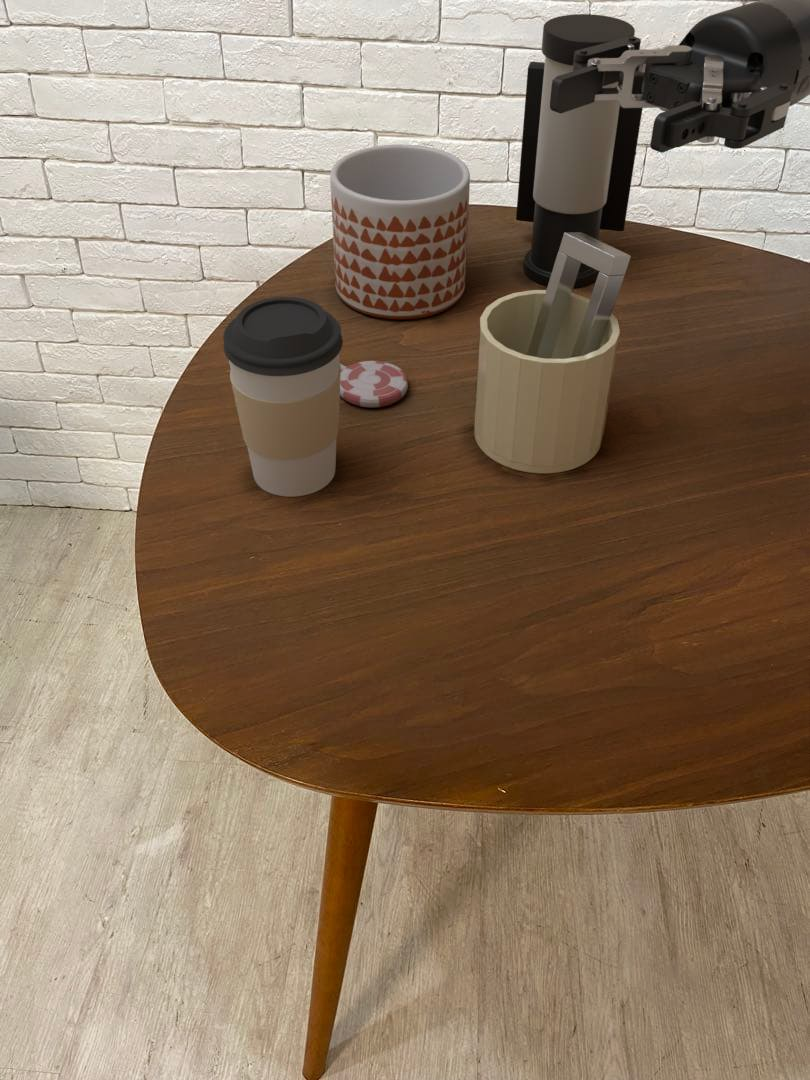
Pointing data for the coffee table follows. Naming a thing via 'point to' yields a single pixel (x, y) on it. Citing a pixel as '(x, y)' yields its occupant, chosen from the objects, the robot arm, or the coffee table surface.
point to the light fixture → (574, 150)
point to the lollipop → (372, 383)
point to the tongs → (560, 288)
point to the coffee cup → (287, 391)
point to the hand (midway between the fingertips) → (603, 115)
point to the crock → (540, 388)
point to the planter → (400, 230)
